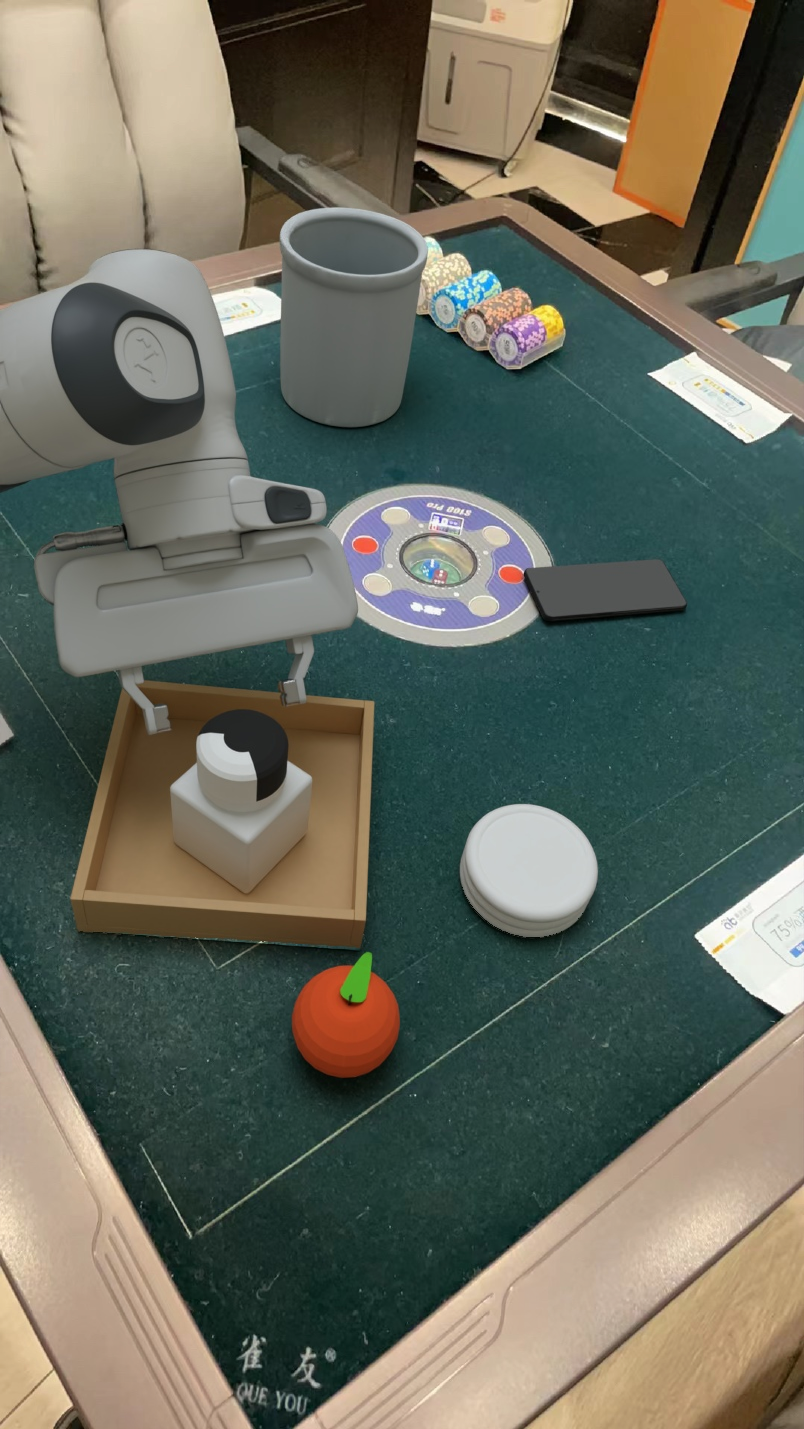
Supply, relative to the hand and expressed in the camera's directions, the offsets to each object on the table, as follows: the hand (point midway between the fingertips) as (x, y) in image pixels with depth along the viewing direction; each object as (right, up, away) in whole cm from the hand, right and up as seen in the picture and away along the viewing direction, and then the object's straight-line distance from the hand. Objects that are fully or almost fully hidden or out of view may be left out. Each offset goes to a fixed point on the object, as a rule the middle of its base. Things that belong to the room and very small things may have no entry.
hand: (228, 718), depth 72 cm
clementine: (+8, -21, -1) cm, 23 cm away
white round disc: (+21, -13, +8) cm, 26 cm away
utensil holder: (+5, +36, +46) cm, 59 cm away
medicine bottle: (0, -9, +6) cm, 11 cm away
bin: (-1, -8, +8) cm, 11 cm away
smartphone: (+31, +12, +30) cm, 45 cm away
